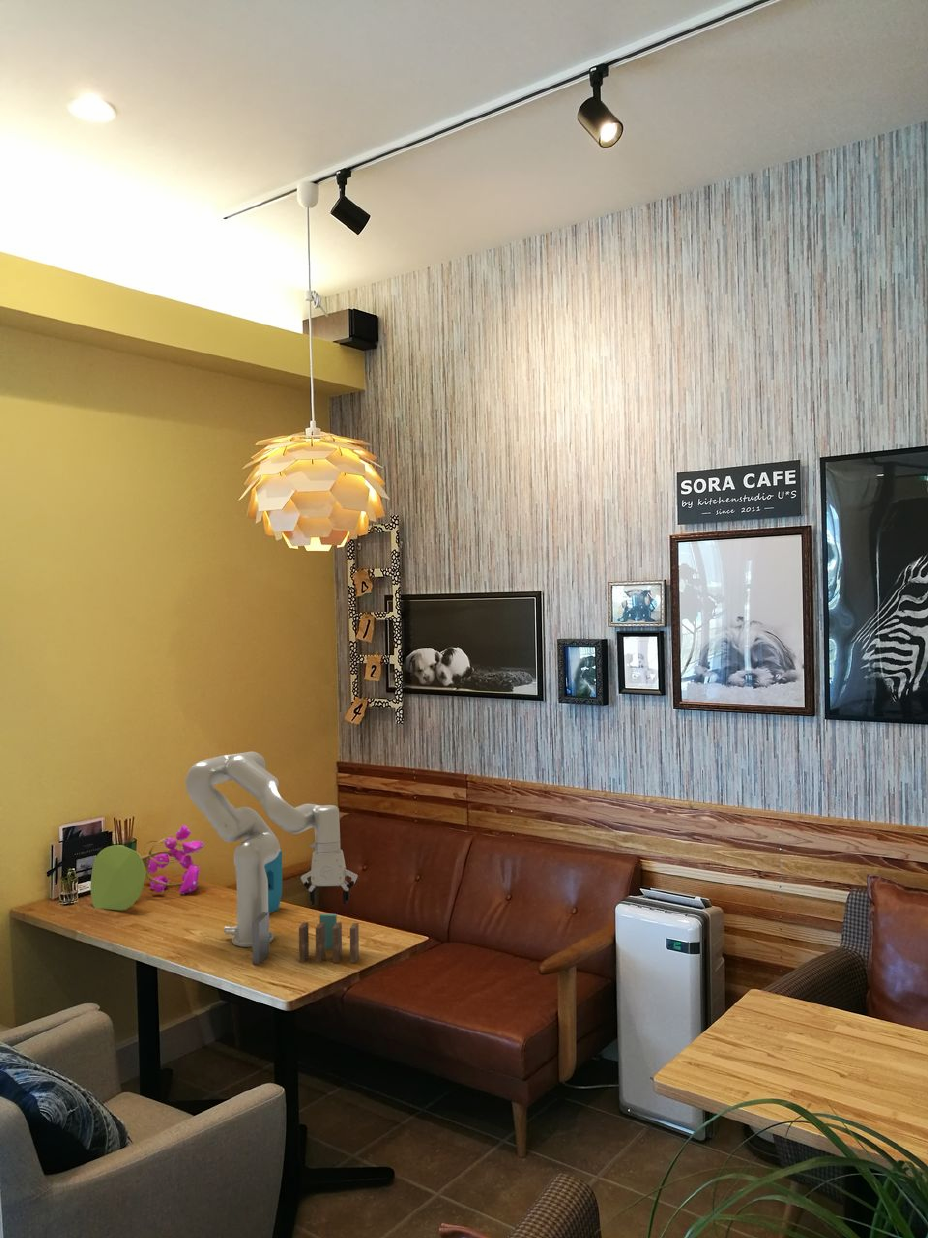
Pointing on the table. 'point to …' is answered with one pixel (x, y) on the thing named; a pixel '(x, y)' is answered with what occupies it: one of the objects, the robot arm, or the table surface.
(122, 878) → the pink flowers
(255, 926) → the bookend
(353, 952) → the walnut tile
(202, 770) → the robot arm
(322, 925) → the walnut tile
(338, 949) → the walnut tile
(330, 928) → the teal tile
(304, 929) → the walnut tile
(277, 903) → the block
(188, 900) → the table surface
